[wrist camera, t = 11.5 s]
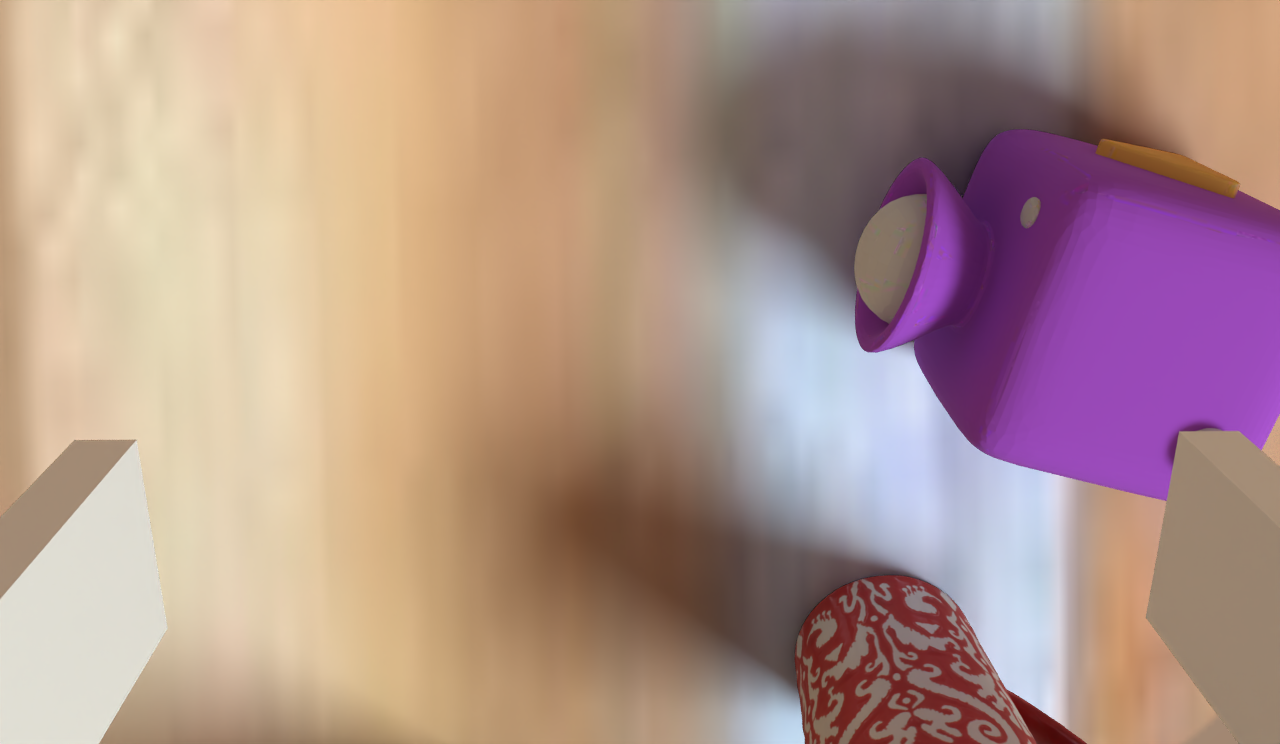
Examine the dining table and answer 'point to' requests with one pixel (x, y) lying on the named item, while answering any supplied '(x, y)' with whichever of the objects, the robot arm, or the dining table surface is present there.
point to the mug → (905, 673)
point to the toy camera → (1080, 303)
